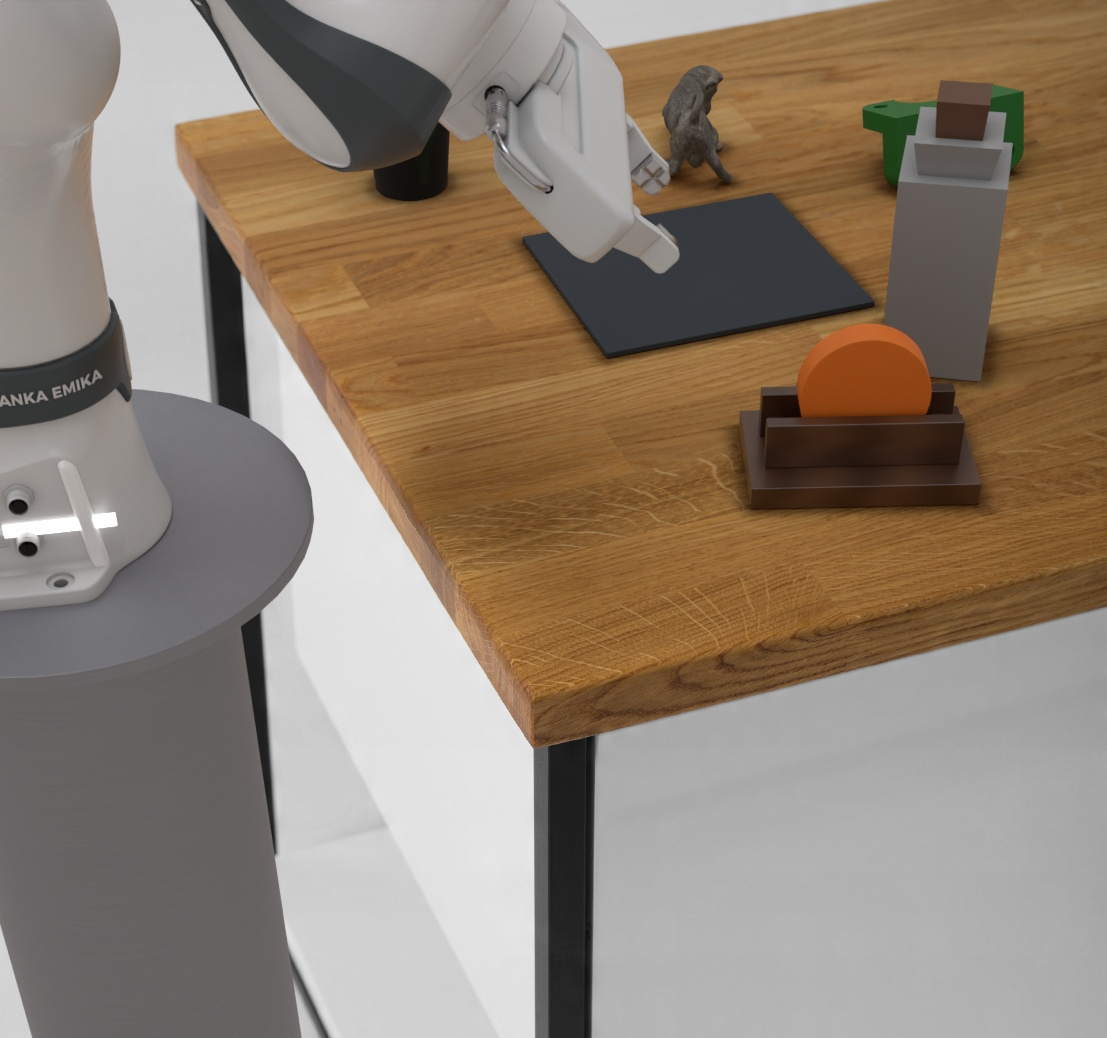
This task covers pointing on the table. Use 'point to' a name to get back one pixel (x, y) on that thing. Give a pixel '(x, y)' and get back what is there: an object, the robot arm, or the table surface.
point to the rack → (856, 456)
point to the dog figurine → (694, 122)
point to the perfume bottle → (949, 229)
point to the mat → (703, 278)
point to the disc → (864, 375)
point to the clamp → (903, 116)
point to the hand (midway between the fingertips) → (666, 220)
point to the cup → (418, 171)
